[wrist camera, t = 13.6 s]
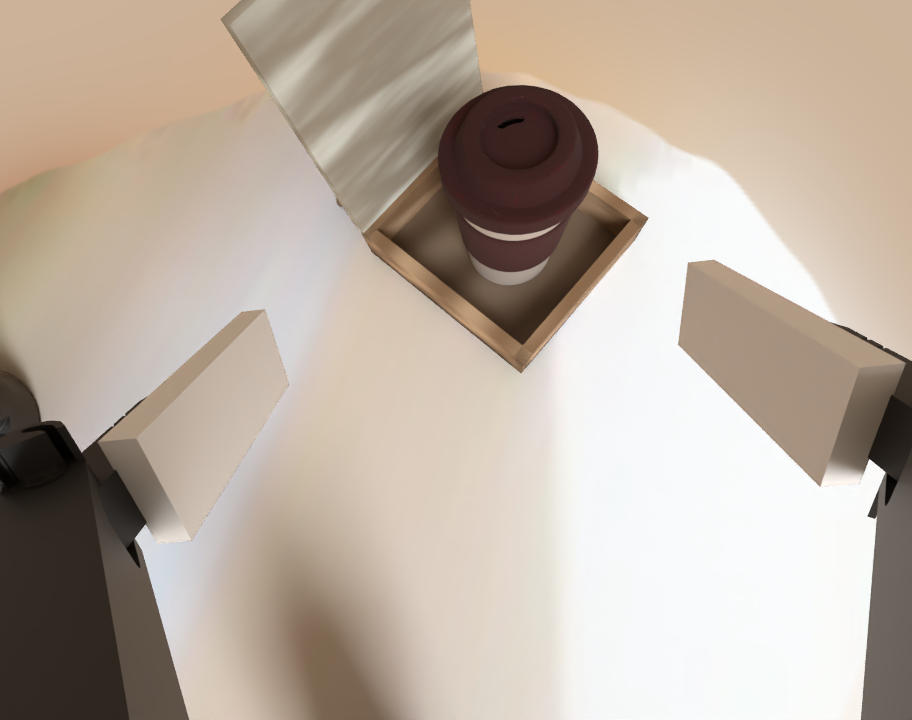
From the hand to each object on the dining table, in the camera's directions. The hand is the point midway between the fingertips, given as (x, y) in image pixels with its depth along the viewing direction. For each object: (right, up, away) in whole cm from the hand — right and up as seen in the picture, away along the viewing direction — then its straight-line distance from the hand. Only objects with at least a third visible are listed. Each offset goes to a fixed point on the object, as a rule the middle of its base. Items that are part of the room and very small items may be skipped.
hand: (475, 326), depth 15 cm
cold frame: (+1, +11, +29) cm, 31 cm away
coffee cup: (+4, +9, +27) cm, 29 cm away
